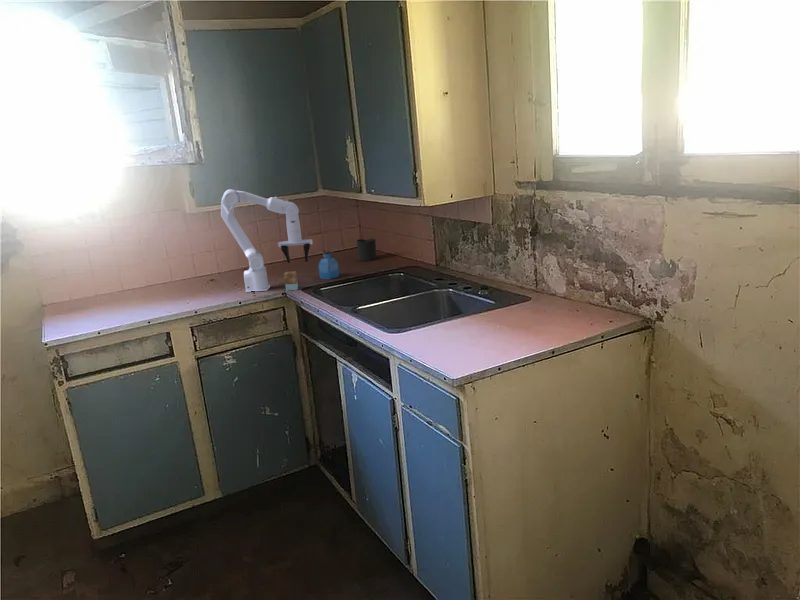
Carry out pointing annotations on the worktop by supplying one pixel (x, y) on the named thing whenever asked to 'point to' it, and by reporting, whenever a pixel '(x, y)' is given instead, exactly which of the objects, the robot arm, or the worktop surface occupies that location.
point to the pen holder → (366, 249)
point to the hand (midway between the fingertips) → (297, 261)
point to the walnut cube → (290, 277)
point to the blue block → (291, 286)
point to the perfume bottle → (328, 266)
